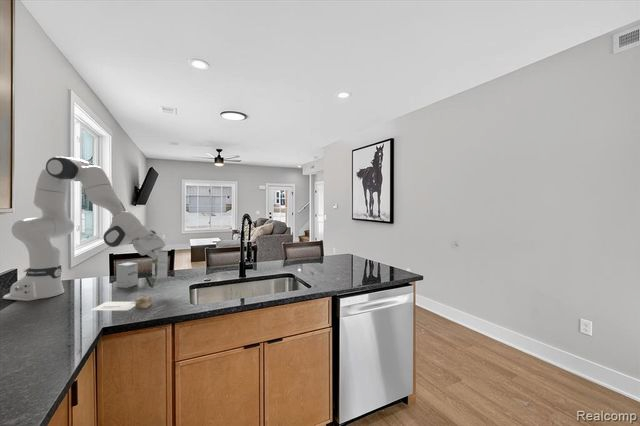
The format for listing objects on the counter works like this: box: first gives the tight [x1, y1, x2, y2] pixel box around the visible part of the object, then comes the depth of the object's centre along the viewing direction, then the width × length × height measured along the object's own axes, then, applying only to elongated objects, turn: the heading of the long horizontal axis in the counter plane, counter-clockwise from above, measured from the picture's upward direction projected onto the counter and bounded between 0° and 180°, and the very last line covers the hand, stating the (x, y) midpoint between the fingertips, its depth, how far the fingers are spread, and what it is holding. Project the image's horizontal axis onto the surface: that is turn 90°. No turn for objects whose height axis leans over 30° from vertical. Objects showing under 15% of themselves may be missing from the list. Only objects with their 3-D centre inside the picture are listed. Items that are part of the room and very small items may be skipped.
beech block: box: [135, 295, 152, 309], centre depth 130 cm, size 4×4×4 cm
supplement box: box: [115, 261, 139, 289], centre depth 161 cm, size 7×7×13 cm
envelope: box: [90, 301, 136, 311], centre depth 130 cm, size 16×11×1 cm
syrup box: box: [151, 247, 169, 280], centre depth 146 cm, size 6×6×14 cm
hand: (161, 256), depth 146 cm, fingers closed on syrup box, 8 cm apart
